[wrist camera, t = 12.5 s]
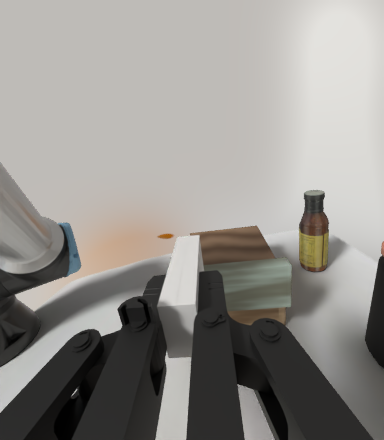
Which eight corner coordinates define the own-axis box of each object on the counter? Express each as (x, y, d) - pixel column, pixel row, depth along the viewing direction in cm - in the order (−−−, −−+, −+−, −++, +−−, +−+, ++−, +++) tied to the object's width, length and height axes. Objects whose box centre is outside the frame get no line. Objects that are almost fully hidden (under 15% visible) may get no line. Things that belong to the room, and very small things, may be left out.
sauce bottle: (315, 257, 58) (319, 186, 51) (333, 269, 53) (340, 191, 46) (293, 262, 58) (294, 191, 51) (308, 276, 52) (312, 197, 45)
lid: (291, 306, 35) (291, 265, 32) (183, 314, 37) (175, 276, 34) (257, 239, 58) (256, 212, 55) (192, 246, 60) (187, 220, 57)
